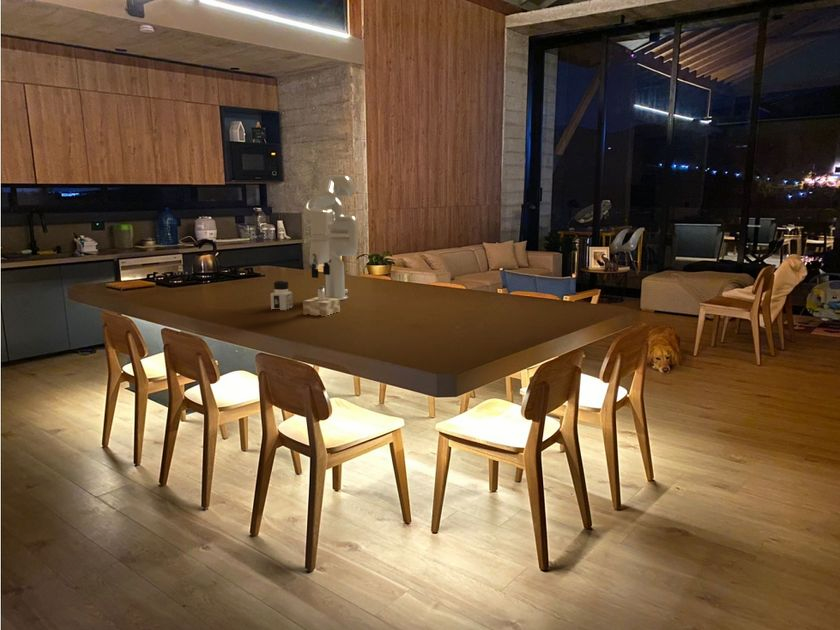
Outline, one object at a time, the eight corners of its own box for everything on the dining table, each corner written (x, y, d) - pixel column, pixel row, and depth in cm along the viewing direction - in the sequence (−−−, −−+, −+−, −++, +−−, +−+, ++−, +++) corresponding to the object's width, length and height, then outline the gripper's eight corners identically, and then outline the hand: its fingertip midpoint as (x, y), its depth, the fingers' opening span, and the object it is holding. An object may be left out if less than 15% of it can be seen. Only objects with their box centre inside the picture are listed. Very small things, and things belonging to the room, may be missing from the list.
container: (286, 310, 294) (285, 282, 292) (270, 309, 296) (269, 282, 293) (293, 307, 302) (292, 280, 299) (277, 306, 303) (276, 279, 301)
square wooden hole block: (317, 309, 296) (317, 297, 295) (340, 311, 291) (339, 298, 290) (303, 314, 285) (302, 301, 284) (326, 316, 280) (326, 302, 279)
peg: (320, 312, 290) (320, 286, 288) (326, 312, 289) (325, 286, 287) (317, 313, 287) (316, 287, 285) (322, 313, 286) (322, 287, 284)
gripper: (322, 236, 291) (323, 273, 295) (301, 239, 275) (303, 278, 279) (337, 236, 288) (338, 274, 292) (316, 240, 272) (317, 279, 276)
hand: (321, 276), depth 285 cm, fingers open, 9 cm apart
